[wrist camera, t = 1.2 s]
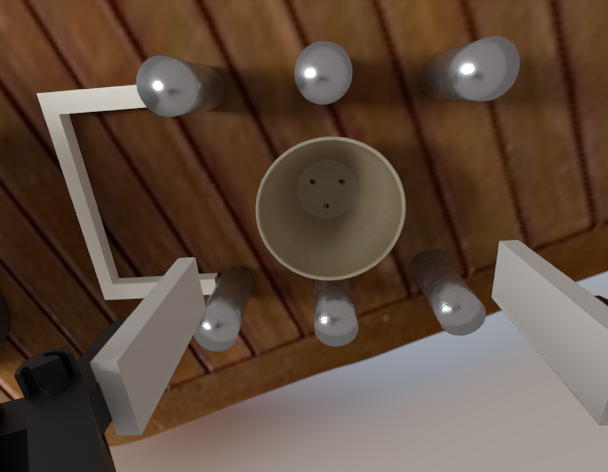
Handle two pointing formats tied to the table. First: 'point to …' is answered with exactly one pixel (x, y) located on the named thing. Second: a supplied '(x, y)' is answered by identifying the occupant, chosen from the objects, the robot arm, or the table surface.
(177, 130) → the table surface
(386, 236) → the flower pot
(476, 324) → the spacers
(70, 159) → the frame
